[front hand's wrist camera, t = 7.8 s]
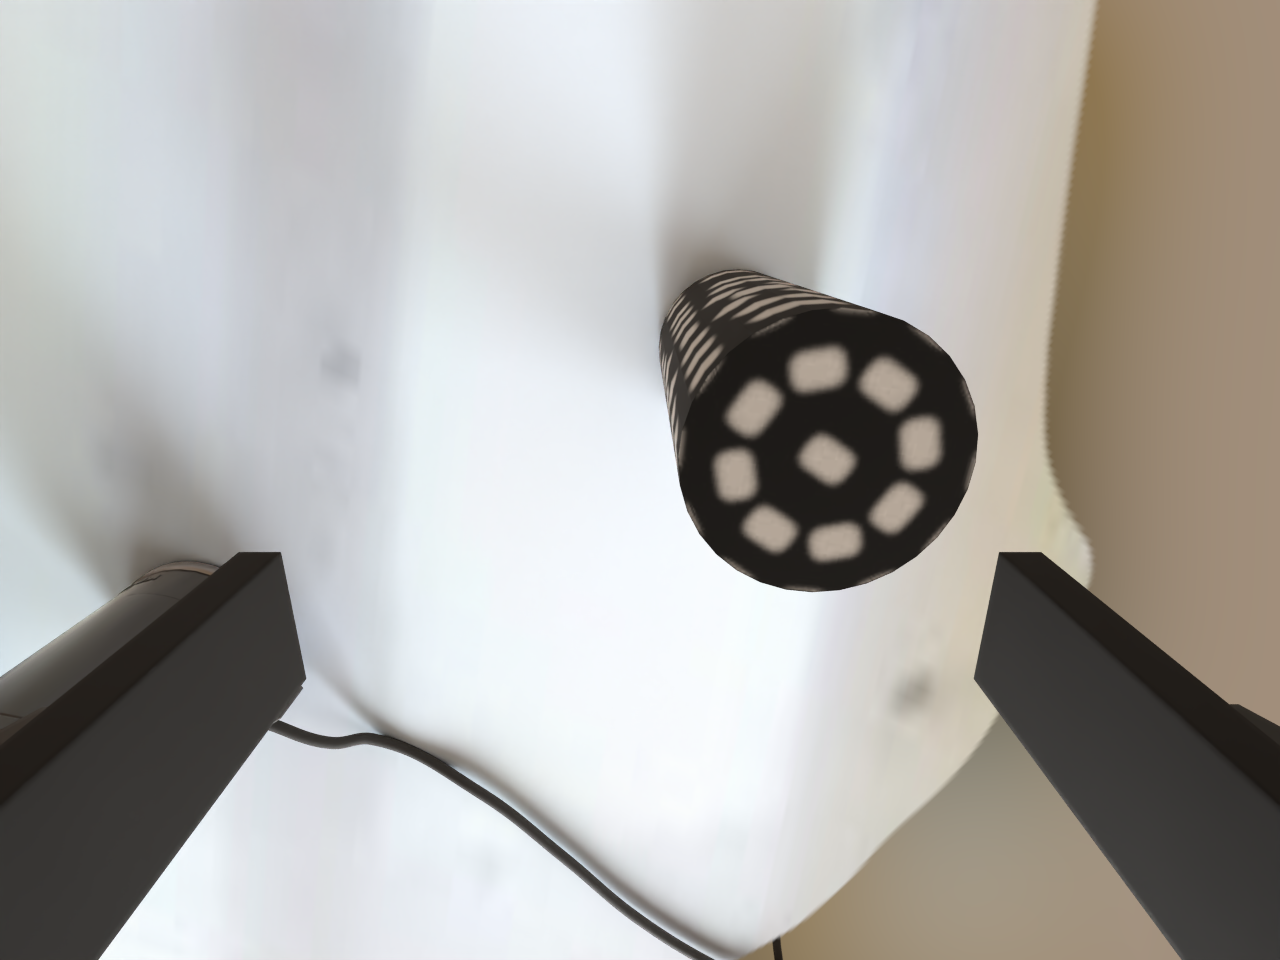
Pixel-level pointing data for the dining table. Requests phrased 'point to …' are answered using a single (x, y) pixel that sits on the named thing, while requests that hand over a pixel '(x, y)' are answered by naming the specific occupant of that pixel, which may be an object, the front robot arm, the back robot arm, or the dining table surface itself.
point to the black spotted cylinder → (811, 431)
